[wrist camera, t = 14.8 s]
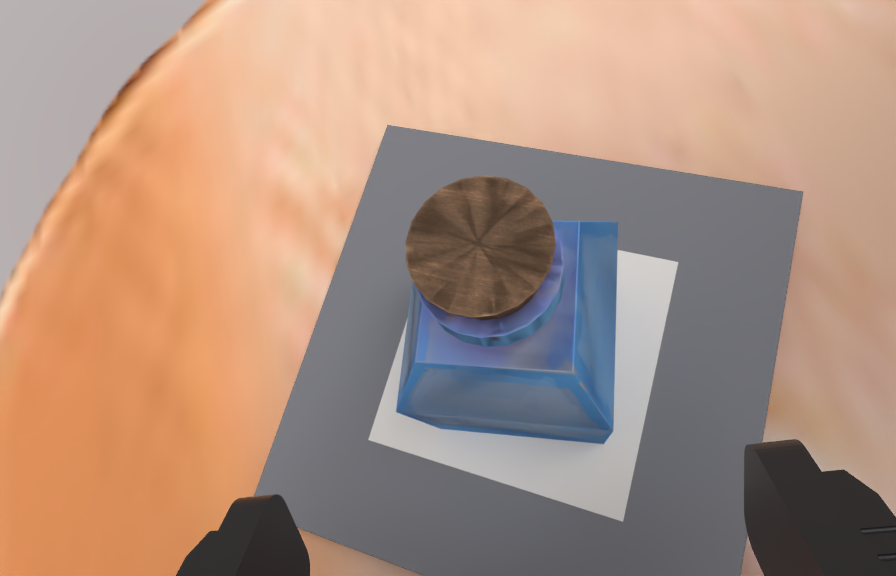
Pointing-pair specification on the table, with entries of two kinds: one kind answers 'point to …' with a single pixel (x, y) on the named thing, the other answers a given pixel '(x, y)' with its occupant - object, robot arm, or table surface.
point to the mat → (536, 459)
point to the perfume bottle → (509, 316)
